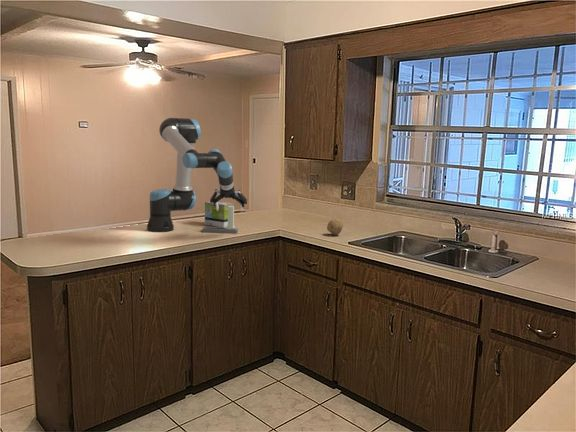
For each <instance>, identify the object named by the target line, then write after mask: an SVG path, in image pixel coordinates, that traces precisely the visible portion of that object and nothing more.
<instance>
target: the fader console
mask: <svg viewBox="0 0 576 432" xmlns="http://www.w3.org/2000/svg"><path fill="white" fill-rule="evenodd" d="M201 232H202V233H210V234H212V233H213V234H214V233H215V234H232V235H233V234H234V235H236V234H238V232H239V228H237V227H235V229H226V228H221V227H216V226H211V227H210V226H203V227H202V229H201Z"/></svg>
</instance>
